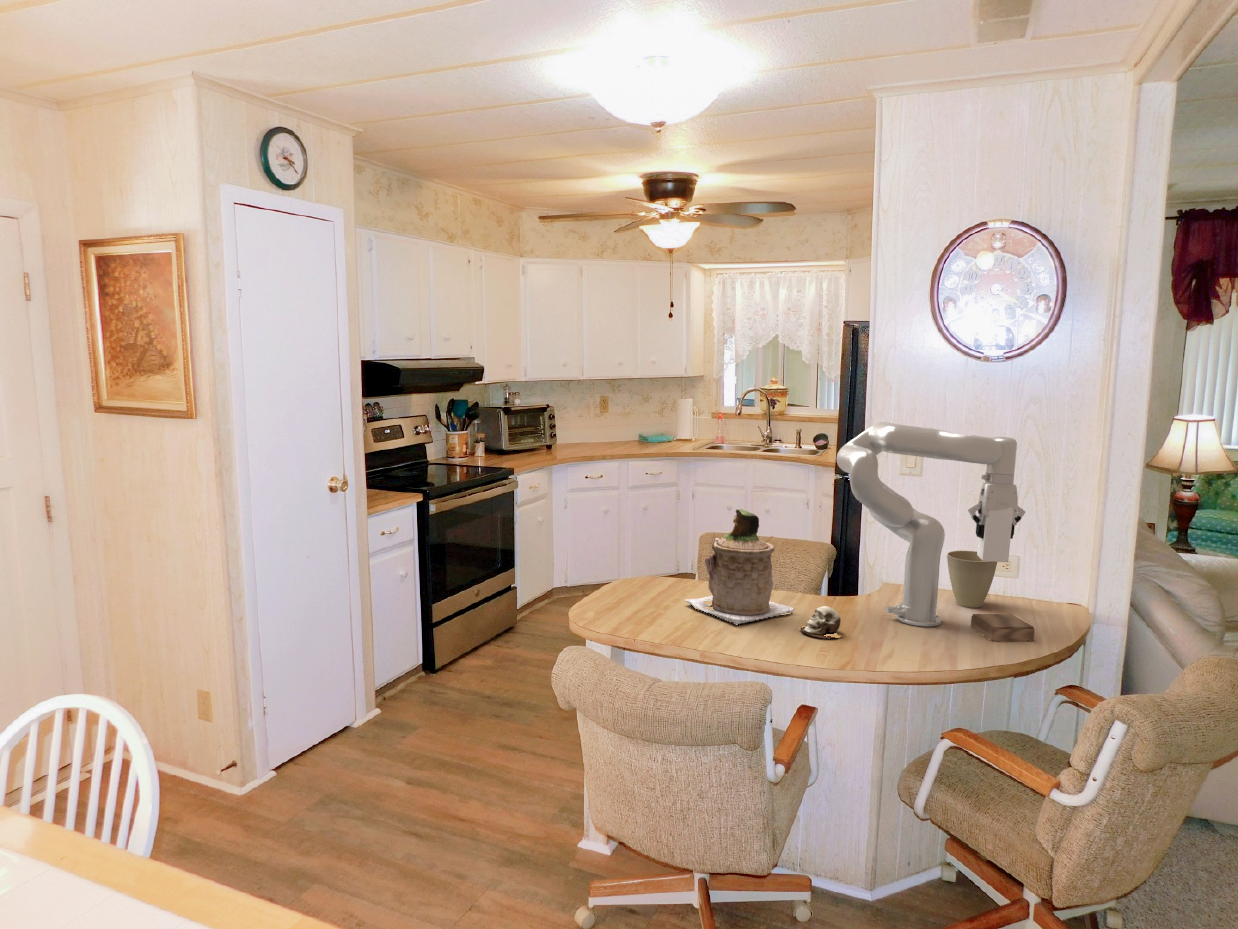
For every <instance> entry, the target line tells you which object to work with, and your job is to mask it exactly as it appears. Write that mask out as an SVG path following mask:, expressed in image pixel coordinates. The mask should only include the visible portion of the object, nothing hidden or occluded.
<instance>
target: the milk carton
mask: <svg viewBox="0 0 1238 929" xmlns="http://www.w3.org/2000/svg"><path fill="white" fill-rule="evenodd" d="M1012 517H1013V510H1012V507H1010V508H1006V509H1005V508H1004V509H1001V510H995V511H989V517H985V522H984V523H983V525H985V528H984V538H979V537H978V542H977V544H978V545H977V555H978V556H979V557H980V558H981V559H982V560H983V561H994V562H997V563H1009V558H1010V550H1011V548H1010V546H1011V528H1012Z"/></svg>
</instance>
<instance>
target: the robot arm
mask: <svg viewBox="0 0 1238 929" xmlns="http://www.w3.org/2000/svg"><path fill="white" fill-rule="evenodd" d="M1017 446H1018V441H1017V439H1015V438H1013V437H1009V436H1008V437H1007V436H1006V437H1004V436H993V437H987V436H980V435H974V434H973V435H965V434H959V433H954V432H950V431H947V430H943V429H938V428H937V429H936V428H931V427H921V426H914V425H904V424H898V423H890V422H886V421H881V422H877V423H874V424H873V425H871V426H869V427H868V428H867V429H866V430H864V431H862V432H861V433H860V434H858V435H857V436H855V437H854V438H853V439H850V440H849V441H848V442H847V443H845V444H844V445H843V446H842V447H840V449H839V450H838V451H837V455H836V463H837V466H838V467H839V469H840V470H842V471H843V472H845V473H847V474H849V484H850V489H851V492H852V493H851V494H853V497H855V499H856V500H857V501H859V503H861V504H862V505H863V506H864V507H866V508H867V509H868V512H869V513H870V515H871V517H872V518H874V520H876V521H877V522H878V523H880V524H881V525H883V526H884V527H885V528H886V529H888V530H889V531H891V532H892V533H893V534H895V535H896V536H898V537H899V538H901V539H903V540H904V541H905V542H908V543H909V545H908V549H907V551H906V555H905V561H904V576H903V592H902V593H903V596H902V602H899V605H896V606H893V605H892V606H891V605H890V606H889V605H888V606H886V607H885V612H886V614H892V613H893V615H895V616H896V617H895V618H896V619H897V620H898V621H899V622H902V623H903V624H907V625H910V626H916V627H924V628H925V627H936V626H939V625H941V624H942V617H940V616H939V615H938V614H937V608H938V606H937V605H938V595H939V581H940V580H939V578H940V565H941V564H940V563H941V554H942V550H943V546H944V542H945V536H946V535H945V529H944V527H943V525H942V523H941V521H939V520H938V519H936V518H934V517H933V516H931V515H929V514H925V513H923V512H920V511H919V510H917V509H915V508H914V507H913V505H912V504H911V502H910V500H908V499H907V498H906V497H904V496H903V495H900V494H899V493H897V492H896V491H895V490H893V489H892V488H891V487H889V486H888V485H887V484H885V482H883V481H882V480H881V478H880V477H879V461H878V457H877V456H878V455H879V454H880V453H882V452H886V453H888V454H895V455H901V456H902V455H903V456H912V457H920V458H927V459H935V460H943V461H945V460H947V461H955V462H956V461H957V462H963V463H971V464H979V465H986V470H985V474H982V475H981V480H983V481H984V482H982V486H981V489H980V493H979V497H978V503H977V504H975V505H974V506H972V507H970V508H968V510H967V512H968V513H969V515H970V518H971V519H972V520H973V521H974V523H976V525H975V535H976V537H977V538H978V539H979V538H984V528H985V525H983V523H984V522H985V517H989V511H995V510H1001V509H1004V508H1005V509H1006V508H1010V507H1012V510H1013V517H1012V528H1011V539H1012V540H1013V538H1014V535H1015V527H1016V526H1017V524H1018V523H1019V522H1020V521H1021V520H1022V517H1024V515H1025V513H1026V510H1024V509H1023V508H1022V507H1020V506H1019V505H1018V504H1019V501H1018V498H1019V497H1018V489H1017V488H1018V486H1017V485H1016V484H1014V480H1015V470H1016V461H1017V460H1016V459H1017V449H1018V447H1017ZM976 512H977V514H978V515H977V514H976ZM1011 539H1010V540H1011Z"/></svg>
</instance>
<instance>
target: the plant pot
mask: <svg viewBox="0 0 1238 929" xmlns="http://www.w3.org/2000/svg"><path fill="white" fill-rule="evenodd" d="M977 551H978V550H977ZM977 551H975V550H953V551H952V550H951V551H948V552H947V553H946V561H947V568H948V569H947V570H948V575H949V580H950V583H951V588H952V592H953V596H954V598H955V602H956V604H957V606H961V607H963V608H970V609H971V608H972V609H975V608H976V609H978V607H979V608H981V607H982V606H983V605H984V602H985V600H986V599H987V596H988V594H989V592H990V588H991V586H992V583H993V580H994V576H995V574H996V569H997V567H998V566H997V564H998V562H994V561H983V560H982V559H981V558H980V557H979V556H978V555H977Z"/></svg>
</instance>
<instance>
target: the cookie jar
mask: <svg viewBox="0 0 1238 929" xmlns="http://www.w3.org/2000/svg"><path fill="white" fill-rule="evenodd" d="M732 520H733V522H732V523H733V524H734V526H733V529H732V530H731V531H729V532H728V533H726V534H724V535H723V536H721V538H718V537H716V538H714V540H713V543H712V545H711V548H712V550H713V551H714V554H713V553H711V554H709V557H708V556H707V557H706V558H705V560H704V565H705V567H706V572H707V573H708V575H709V578H708V590H709V592H710V593H711V594H712V595H708V596H705V597H699V598H688V599H687V598H686V599H684V601H685V602H686V603H687V604H689V605H690V604H691V605H692V606H693V607H696V608H699V609H700V610H702V611H704V612H703V613H705V612H706V613H705V614H707V613H711V614H713V615H715V616H717V617H716V618H718V617H720V618H719V619H721V618H722V619H721V620H723V619H726V620H728V621H731V622H733V623H735V624H739V625H740V624H745V623H749V622H755V620H756V621H760V620H759V619H761V620H765V619H769V618H768V617H770V618H774V617H773V616H776V617H778V616H777V615H781V614H785V613H791V612H792V613H793V612H794V608H793V607H792V606H788V605H785V604H781V603H777V602H774V601H771V595H772V592H773V585H774V584H773V583H774V582H773V565H772V557H771V555H772V554H773V553H774V552H775V546H774V545H773V544H772V543H770V542H766V541H765V540H763V539H761V538H759V536H758V535H757V534H758V531H759V527H760V518H759V516H758V515H756V514H755V513H752V512H750V511H747V510H745V509H742V508H737V509H736V510H735V515H734V517H733V519H732ZM712 597H713V598H712ZM709 599H710V600H709ZM703 601H712V605H711V606H708V605H707V604H706V603H704V602H703ZM769 601H770V602H769ZM691 605H690V606H691ZM692 606H691V607H692ZM693 607H692V608H693ZM703 607H713V609H714V610H710V609H708V608H707V609H705V608H703ZM770 607H771V608H770ZM702 611H701V612H702ZM713 615H712V616H713ZM715 616H714V617H715ZM764 618H765V619H764ZM726 620H725V621H726ZM728 621H727V622H728ZM731 622H730V623H731ZM733 623H732V624H733ZM735 624H734V625H735Z"/></svg>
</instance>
